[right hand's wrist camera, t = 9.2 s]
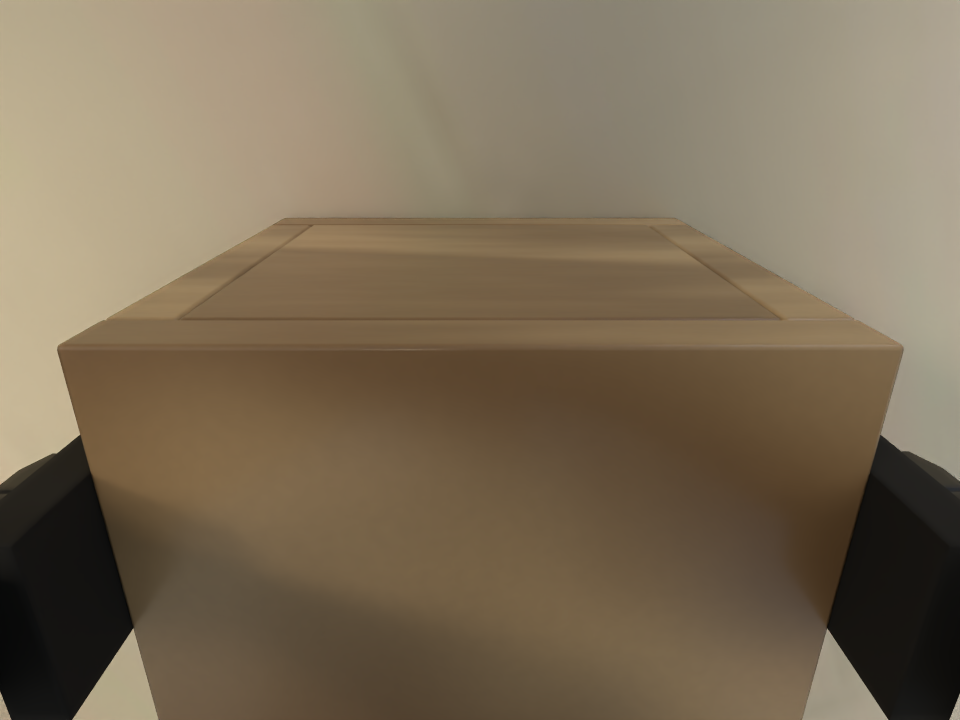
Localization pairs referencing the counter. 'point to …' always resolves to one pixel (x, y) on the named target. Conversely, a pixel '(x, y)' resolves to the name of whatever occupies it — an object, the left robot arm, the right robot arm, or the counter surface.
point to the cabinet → (480, 472)
